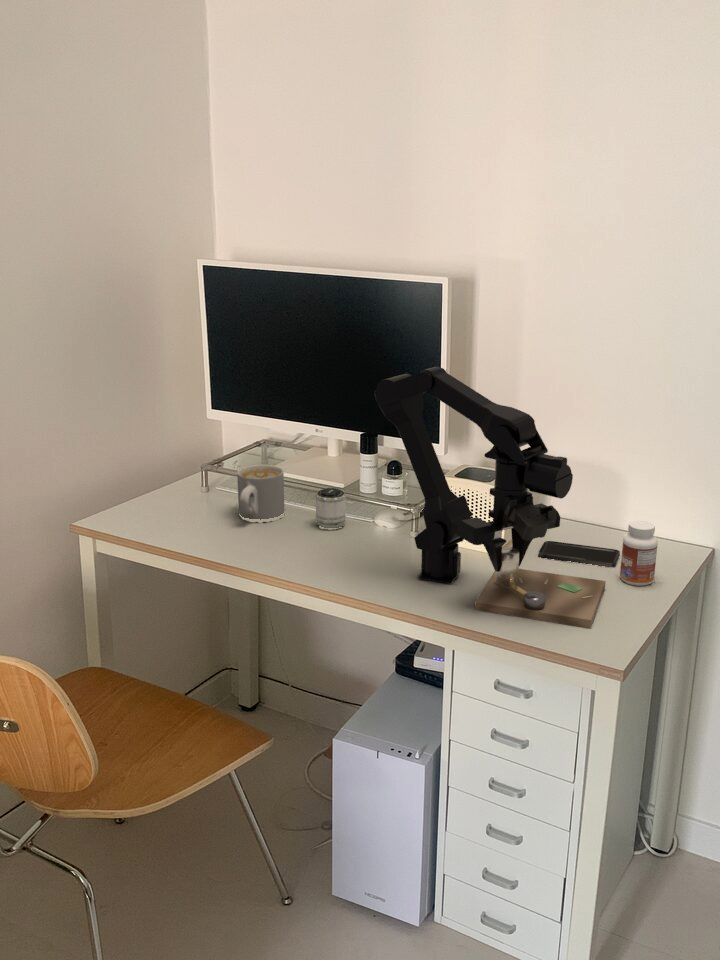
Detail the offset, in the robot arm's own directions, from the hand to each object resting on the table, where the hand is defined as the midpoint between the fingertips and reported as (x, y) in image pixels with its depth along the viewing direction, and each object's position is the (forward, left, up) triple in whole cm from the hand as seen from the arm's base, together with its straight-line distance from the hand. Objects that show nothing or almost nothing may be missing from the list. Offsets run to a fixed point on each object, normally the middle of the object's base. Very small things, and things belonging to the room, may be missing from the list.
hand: (507, 568), depth 181 cm
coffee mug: (-60, +21, -6) cm, 64 cm away
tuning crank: (+2, -2, -4) cm, 5 cm away
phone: (+9, +24, -6) cm, 26 cm away
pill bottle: (+21, +16, -6) cm, 27 cm away
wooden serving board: (+6, +1, -6) cm, 8 cm away
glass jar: (-43, +22, -6) cm, 48 cm away
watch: (-29, +33, -6) cm, 44 cm away
